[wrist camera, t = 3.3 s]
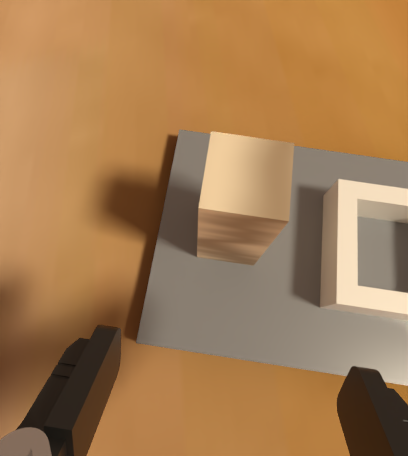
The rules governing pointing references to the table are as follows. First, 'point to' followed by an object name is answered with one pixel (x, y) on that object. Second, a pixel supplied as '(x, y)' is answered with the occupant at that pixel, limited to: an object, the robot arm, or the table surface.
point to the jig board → (291, 271)
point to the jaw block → (243, 197)
